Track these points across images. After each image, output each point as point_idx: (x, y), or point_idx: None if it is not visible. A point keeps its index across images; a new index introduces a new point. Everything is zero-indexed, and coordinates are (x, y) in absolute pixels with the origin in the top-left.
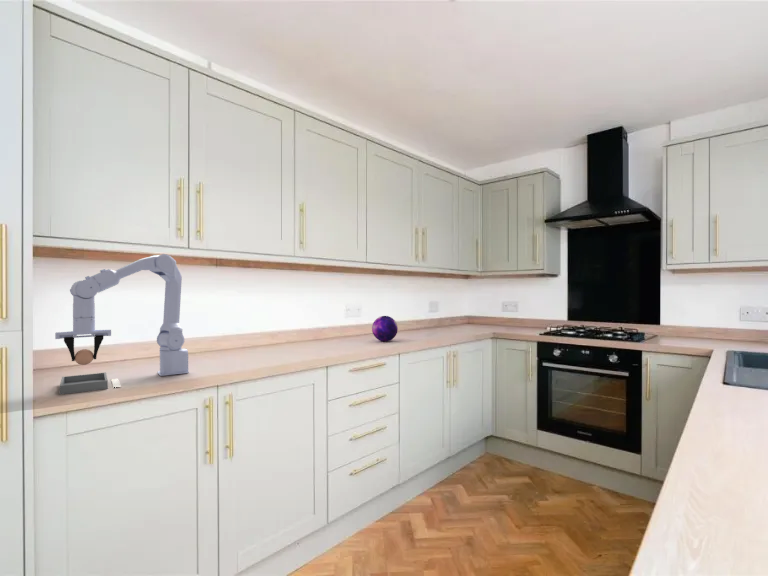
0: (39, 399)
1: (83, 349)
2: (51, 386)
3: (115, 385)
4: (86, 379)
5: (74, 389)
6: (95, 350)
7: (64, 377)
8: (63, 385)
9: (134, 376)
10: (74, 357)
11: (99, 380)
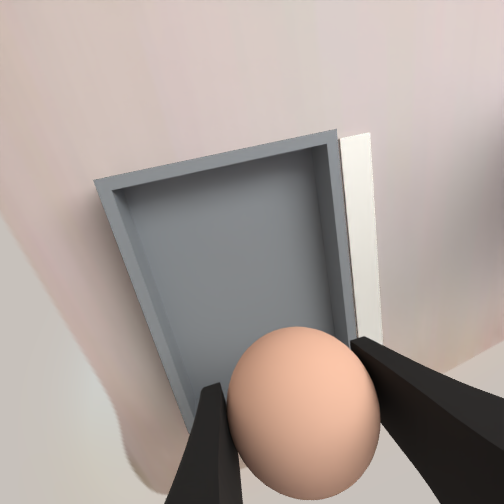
0: (143, 454)
1: (329, 485)
2: (62, 203)
3: (365, 309)
4: (230, 165)
5: None
6: (422, 459)
7: (112, 191)
8: None
9: (440, 94)
10: (238, 461)
11: (296, 193)
